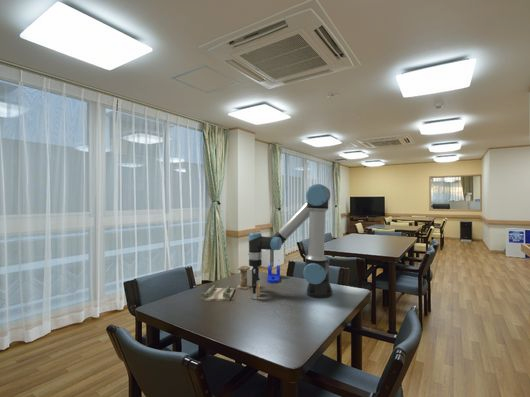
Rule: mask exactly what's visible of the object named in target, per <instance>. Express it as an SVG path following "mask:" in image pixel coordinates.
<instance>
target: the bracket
mask: <svg viewBox="0 0 530 397" xmlns="http://www.w3.org/2000/svg"><path fill="white" fill-rule="evenodd" d="M272 267H273V266H272V265H271V264H270V265H269V264H268V266H267V278H266V283H268V284H278V283H280V279H281V265H276V273H273V272H272V271H273V270H272Z"/></svg>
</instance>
